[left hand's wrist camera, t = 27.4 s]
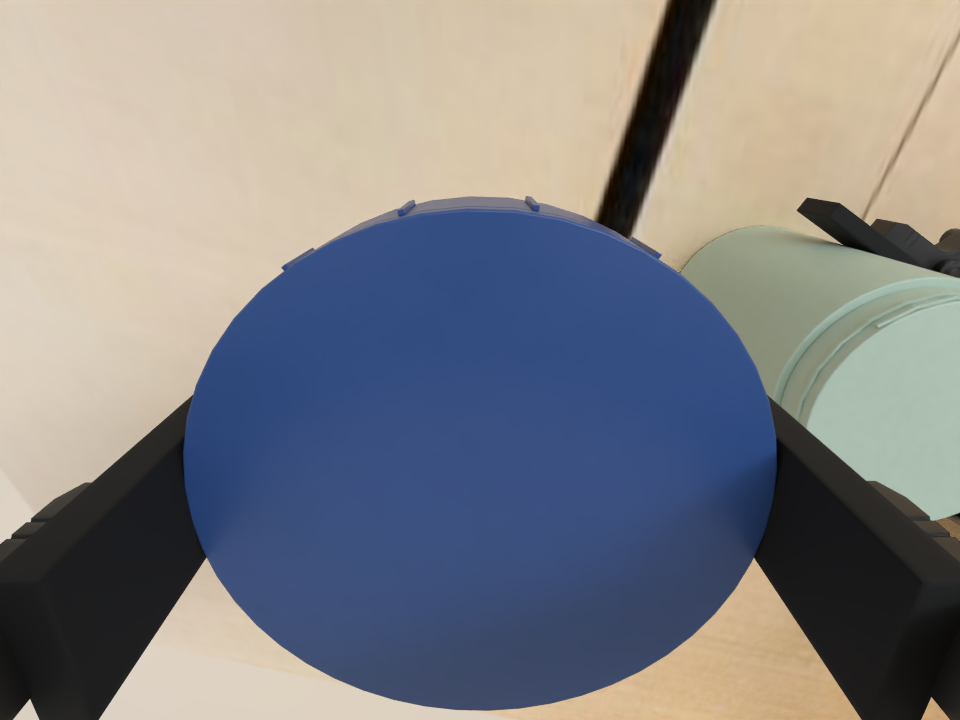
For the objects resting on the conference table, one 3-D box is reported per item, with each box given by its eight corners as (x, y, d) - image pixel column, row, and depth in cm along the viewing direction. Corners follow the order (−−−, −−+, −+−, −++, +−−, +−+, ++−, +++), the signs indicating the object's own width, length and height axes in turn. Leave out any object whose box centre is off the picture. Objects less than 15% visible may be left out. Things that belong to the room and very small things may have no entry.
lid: (298, 103, 10) (249, 91, 8) (828, 313, 11) (906, 350, 9) (194, 562, 14) (143, 636, 12) (597, 674, 15) (615, 757, 13)
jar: (849, 332, 35) (1101, 462, 21) (702, 405, 37) (841, 569, 23) (797, 192, 32) (1054, 233, 18) (639, 280, 34) (756, 381, 20)
